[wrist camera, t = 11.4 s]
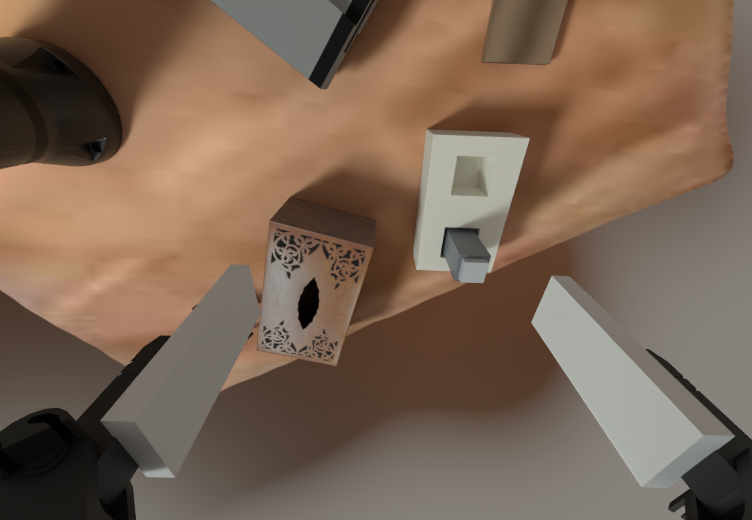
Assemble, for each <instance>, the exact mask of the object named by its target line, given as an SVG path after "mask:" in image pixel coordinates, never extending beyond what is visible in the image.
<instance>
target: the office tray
mask: <svg viewBox="0 0 752 520" xmlns="http://www.w3.org/2000/svg"><path fill="white" fill-rule="evenodd" d="M211 1H212V2H213V3H215V4H216V5H217V6H218V7H220V8H221V9H222V10H223V11H224V12H226V13H227V14H228V15H229V16H231V17H232V18H233V19H234V20H236V21H237V22H238V23H239V24H241V25H242V26H243V27H244V28H246V29H247V30H248V31H249V32H251V33H252V34H253V35H254V36H255V37H257V38H258V39H259V40H260V41H262V42H263V43H264V44H265V45H267V46H268V47H269V48H270V49H272V50H273V51H274V52H275V53H277V54H278V55H279V56H280V57H282V58H283V59H284V60H285V61H286V62H288V63H289V64H290V65H291V66H293V67H294V68H295V69H296V70H298V71H299V72H300V73H301V74H303V75H304V76H305V77H306V78H308V79H309V80H310V81H311V82H313V83H314V84H315V85H316V86H318V87H319V88H320V89H327V88H328V86H329V84H330V83H331V81H332V79H333V77H334V75H335V73H336V72H337V70H338V68H339V66H340V64H341V63H342V61H343V59H344V57H345V55H346V54H347V52H348V50H349V48H350V46H351V45H352V43H353V41H354V39H355V37H356V36H357V34H358V35H360V33H361V31H362V29H363V27H364V26H365V24H366V22H367V20H368V18H369V17H370V15H371V13H372V11H373V9H374V8H375V6H376V4H377V2H378V0H211Z"/></svg>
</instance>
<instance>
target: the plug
mask: <svg viewBox="0 0 752 520" xmlns="http://www.w3.org/2000/svg"><path fill="white" fill-rule="evenodd" d="M441 249H442V251H443V254H444V256H445V259H446V261H447V264H448V266H449V269H450V271H451V274H452V277H453V279H454V281H460V282H471V283H483V282H484V280H485V276H486V273H487V269H488V265H489V262H490V258H491V255H490V253H489V252H488V251H487V249H486V248H485V246H484V245H483V243H482V242H481V240H480V239H479V237H478V236H477V234H476V233H475V231H474V230H473V229H472V228H454V227H445V231H444V236H443V242H442V248H441Z"/></svg>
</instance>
